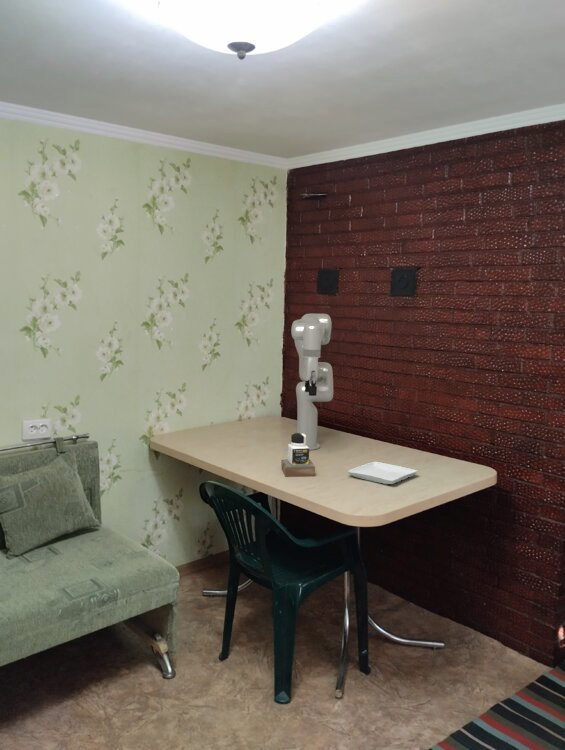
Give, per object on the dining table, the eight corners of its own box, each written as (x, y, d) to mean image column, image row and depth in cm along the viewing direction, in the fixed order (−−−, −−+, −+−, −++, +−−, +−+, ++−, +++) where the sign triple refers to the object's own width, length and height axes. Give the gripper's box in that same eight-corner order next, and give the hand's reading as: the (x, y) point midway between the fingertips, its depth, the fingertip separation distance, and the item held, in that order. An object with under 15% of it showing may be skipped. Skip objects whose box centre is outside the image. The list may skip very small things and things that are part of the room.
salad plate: (373, 467, 272) (373, 460, 271) (418, 477, 259) (419, 469, 258) (345, 478, 256) (345, 470, 255) (392, 489, 242) (392, 480, 242)
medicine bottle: (292, 465, 257) (292, 436, 255) (287, 460, 264) (288, 432, 262) (309, 464, 258) (309, 435, 257) (304, 460, 265) (304, 431, 264)
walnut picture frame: (281, 468, 266) (281, 459, 266) (309, 468, 268) (309, 458, 268) (285, 476, 255) (285, 467, 254) (315, 476, 256) (315, 466, 256)
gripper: (299, 351, 278) (298, 390, 280) (306, 355, 261) (305, 397, 263) (316, 351, 279) (315, 390, 281) (324, 355, 262) (323, 397, 264)
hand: (310, 393), depth 272 cm, fingers open, 9 cm apart
